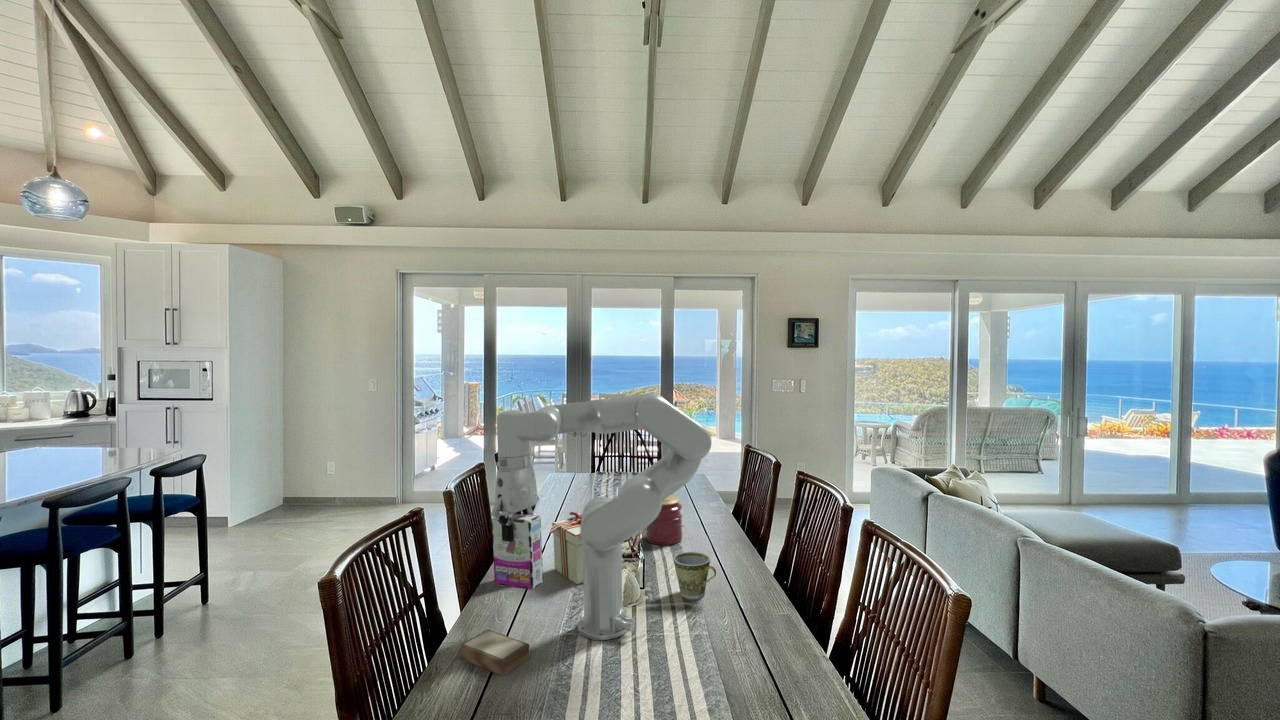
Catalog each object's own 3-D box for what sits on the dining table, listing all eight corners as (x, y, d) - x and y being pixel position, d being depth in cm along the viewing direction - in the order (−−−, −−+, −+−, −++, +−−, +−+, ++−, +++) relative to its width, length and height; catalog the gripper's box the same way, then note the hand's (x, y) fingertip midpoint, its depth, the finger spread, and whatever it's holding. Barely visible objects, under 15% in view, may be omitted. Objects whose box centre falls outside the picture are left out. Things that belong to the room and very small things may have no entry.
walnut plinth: (529, 657, 122) (529, 643, 122) (502, 675, 115) (502, 660, 115) (488, 641, 129) (487, 628, 129) (460, 658, 122) (460, 644, 122)
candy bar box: (544, 582, 134) (541, 514, 133) (533, 590, 129) (530, 521, 129) (506, 576, 138) (503, 511, 138) (493, 584, 133) (490, 517, 133)
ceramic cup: (666, 595, 152) (666, 559, 152) (689, 583, 159) (688, 549, 159) (705, 609, 143) (704, 571, 143) (726, 596, 151) (726, 560, 150)
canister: (659, 531, 206) (658, 484, 206) (689, 537, 198) (688, 488, 198) (638, 541, 195) (638, 491, 195) (669, 548, 188) (668, 496, 188)
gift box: (542, 573, 169) (541, 517, 168) (591, 557, 181) (590, 505, 181) (573, 591, 156) (572, 530, 156) (624, 572, 168) (623, 516, 168)
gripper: (498, 470, 124) (502, 551, 124) (550, 456, 138) (552, 528, 139) (475, 467, 128) (478, 545, 128) (527, 454, 142) (530, 524, 142)
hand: (517, 536), depth 133 cm, fingers closed on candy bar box, 5 cm apart
